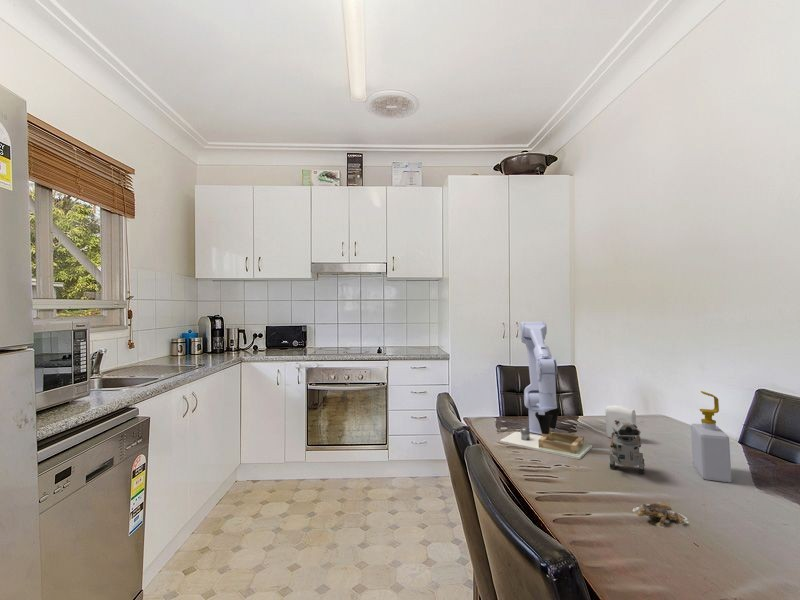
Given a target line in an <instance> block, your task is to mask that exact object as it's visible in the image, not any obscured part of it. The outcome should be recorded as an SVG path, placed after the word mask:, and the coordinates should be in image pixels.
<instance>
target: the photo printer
mask: <svg viewBox="0 0 800 600" xmlns="http://www.w3.org/2000/svg"><path fill="white" fill-rule="evenodd" d="M615 419H626V420H627V421H628V422H630V423H631V424H632V425H633V424H634V425H636V426H637V414H636V411H635V409H633V408H631V407H629V406H625V405H622V404H621V405H620V404H612V405H607V406H606V408H605V424H606V425H605V427H606V437H607V438H610V439H612V433H613V432H615V431H614V430H613V428H612V426H613V421H614V420H615ZM615 435H616V434H615ZM635 437H636V438H637V436H635Z"/></svg>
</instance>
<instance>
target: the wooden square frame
mask: <svg viewBox="0 0 800 600" xmlns="http://www.w3.org/2000/svg"><path fill="white" fill-rule="evenodd" d="M540 436H543V437H541V438H540V439H539V440H538V441H539V447H541V448H546V449H552V450H557V451H562V452H568V453H573V454H576V453H577V452H578V450H579V449H580V448H581V447H582V446H583V445H584V444H585V436H582V435H575V434H569V433H563V432H557V431H551V427H550V429H549V434H542V431H541V434H540ZM552 440H556V441H562V442H568V443H572V444H568V443H562V442H556V441H552Z"/></svg>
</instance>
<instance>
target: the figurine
mask: <svg viewBox="0 0 800 600" xmlns="http://www.w3.org/2000/svg"><path fill="white" fill-rule="evenodd" d="M612 428H613V430H614V431H615V432H613V433H612V438H610V443H609V446H610V448H609V469H610V470H611V469H612V470H614V469H615V466H616V464H617V465H619V466H620V465H621V466H623V467H624V466H626V467H637V466H638V467H639V468H638V469H639V470H638V471H639V474H640V475H645V467H646V465H645V464H646V463H645V459H644V453H643V452H640V448H642V443H641V436H640V435H641V432H642V431H640V430H639V429H638V426H637V424H636V425H634V424H633V425H632V424H631V423H630V422H628V421H627V420H626V419H615V420H614V421H613V426H612ZM615 434H616V435H615ZM635 436H637V438H636V437H635Z"/></svg>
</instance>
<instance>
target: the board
mask: <svg viewBox="0 0 800 600" xmlns="http://www.w3.org/2000/svg"><path fill="white" fill-rule="evenodd" d="M541 437H543V436H541V435H539V434H533V433H530V440H528V441H525V440H522V439H521V431H514V432H512V433H510V434H509V435H507V436H505V437H503V438H502V439H500V440H499V441H498V442H499V444H503V445H509V446H513V447H517V448H523V449H528V450H532V451H537V452H542V453H547V454H551V455H556V456H561V457H567V458H571V459H575V460H581V459H582V458H583V457H584V456H585V455H586V454H587V453H588V452H589V451H590V450H591V449H592V448H593V445H591V444H589V445H590V446H589V447H588V448H587V449H585V450H584V451H583V452H582V453H581V454H580V455H579V456H575V455H570V454H565V453H560V452H555V451H550V450H545V449H541V448H539V441H538V440H539V439H540V438H541Z"/></svg>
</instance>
